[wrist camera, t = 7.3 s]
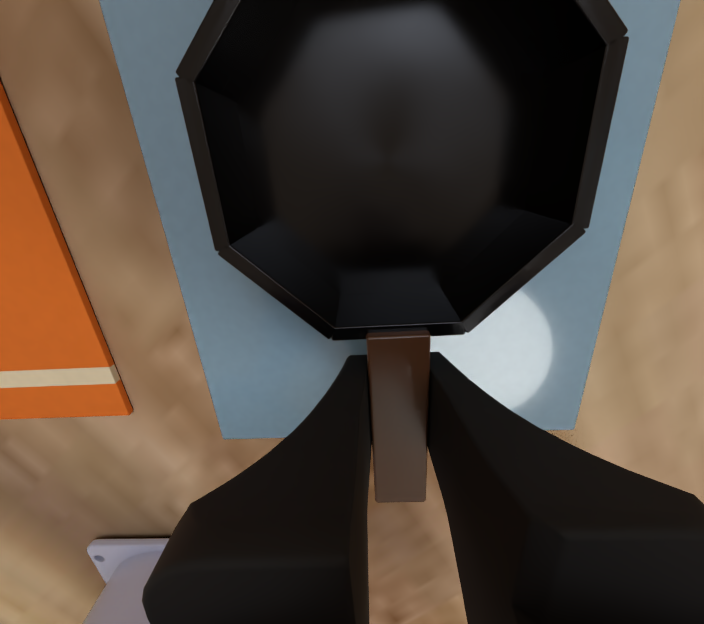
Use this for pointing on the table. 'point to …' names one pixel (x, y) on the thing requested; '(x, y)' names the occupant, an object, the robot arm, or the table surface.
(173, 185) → the trivet
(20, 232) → the tea towel
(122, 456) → the table surface
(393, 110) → the skillet
